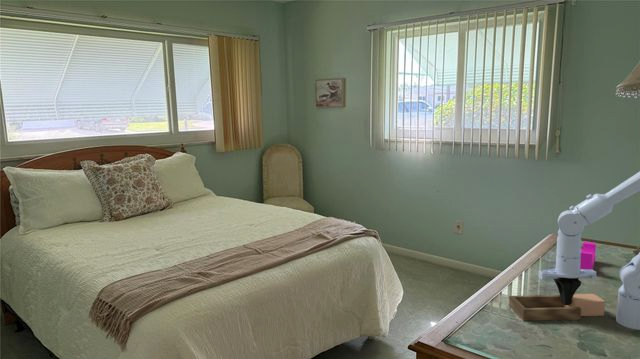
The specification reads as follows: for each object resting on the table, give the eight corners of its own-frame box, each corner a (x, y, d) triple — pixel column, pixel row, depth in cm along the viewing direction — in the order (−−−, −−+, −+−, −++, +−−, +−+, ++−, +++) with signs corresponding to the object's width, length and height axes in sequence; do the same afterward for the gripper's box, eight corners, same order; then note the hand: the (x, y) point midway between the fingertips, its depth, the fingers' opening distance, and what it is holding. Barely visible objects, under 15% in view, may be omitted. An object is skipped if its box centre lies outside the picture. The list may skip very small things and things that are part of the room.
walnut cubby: (562, 304, 126) (562, 294, 126) (580, 319, 117) (581, 308, 117) (508, 305, 126) (509, 295, 126) (523, 320, 117) (523, 309, 117)
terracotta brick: (592, 307, 124) (593, 293, 123) (604, 315, 119) (605, 301, 118) (564, 308, 124) (564, 294, 123) (574, 316, 119) (575, 301, 118)
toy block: (574, 260, 163) (576, 240, 162) (594, 263, 160) (596, 243, 159) (569, 272, 151) (570, 251, 150) (590, 276, 148) (592, 254, 147)
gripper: (586, 250, 123) (583, 297, 125) (534, 251, 123) (531, 298, 125) (602, 258, 116) (599, 308, 118) (546, 259, 116) (544, 309, 118)
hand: (565, 303), depth 121 cm, fingers closed
